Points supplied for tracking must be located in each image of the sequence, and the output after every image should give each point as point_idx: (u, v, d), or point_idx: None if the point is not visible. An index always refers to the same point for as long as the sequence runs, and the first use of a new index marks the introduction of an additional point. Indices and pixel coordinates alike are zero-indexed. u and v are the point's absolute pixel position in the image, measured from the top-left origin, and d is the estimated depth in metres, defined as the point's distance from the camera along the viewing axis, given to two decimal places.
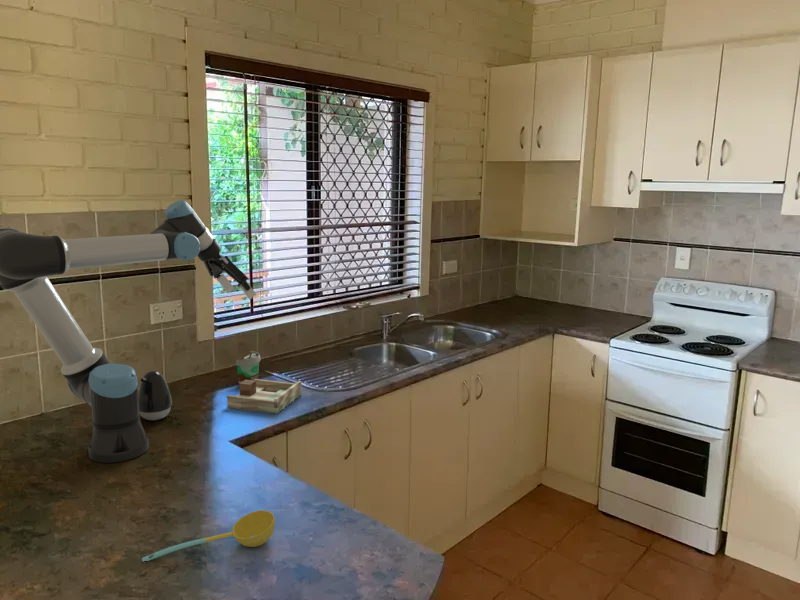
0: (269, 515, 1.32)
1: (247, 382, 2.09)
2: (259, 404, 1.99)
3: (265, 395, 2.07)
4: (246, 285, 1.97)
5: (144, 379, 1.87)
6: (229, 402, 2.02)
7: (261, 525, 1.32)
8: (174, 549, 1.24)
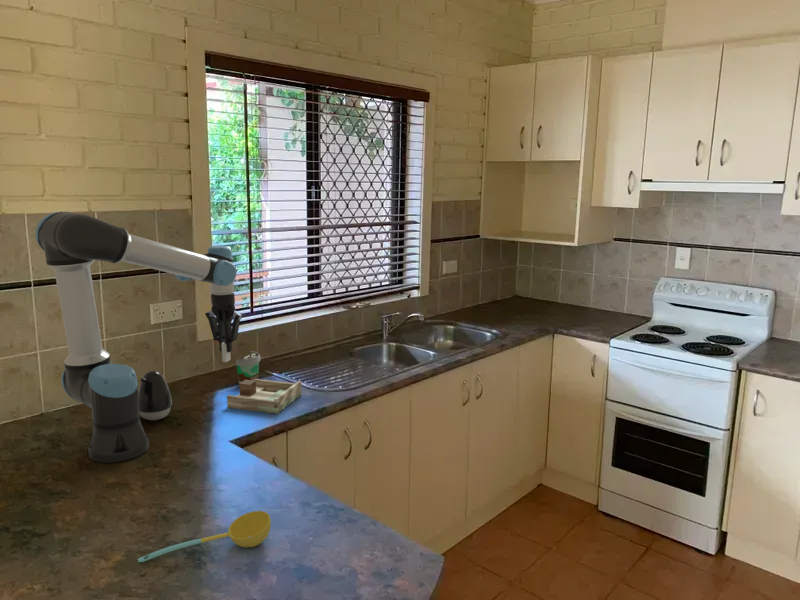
0: (265, 515, 1.31)
1: (247, 382, 2.09)
2: (259, 404, 1.99)
3: (265, 395, 2.07)
4: (230, 346, 2.08)
5: (144, 379, 1.87)
6: (229, 402, 2.02)
7: (257, 526, 1.32)
8: (170, 550, 1.24)
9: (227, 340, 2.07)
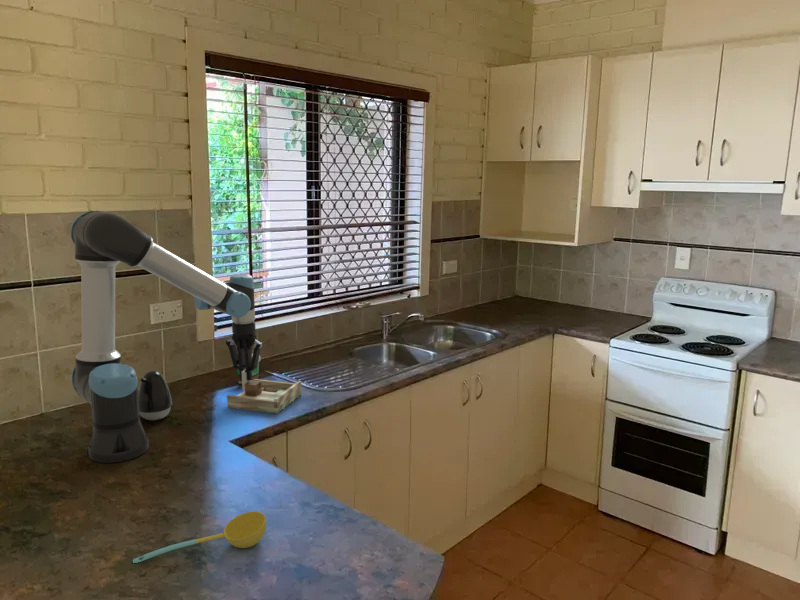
0: (260, 516, 1.31)
1: (252, 383, 2.08)
2: (259, 404, 1.99)
3: (265, 395, 2.07)
4: (250, 374, 2.08)
5: (144, 379, 1.87)
6: (229, 402, 2.02)
7: (253, 526, 1.32)
8: (165, 550, 1.23)
9: (247, 369, 2.07)
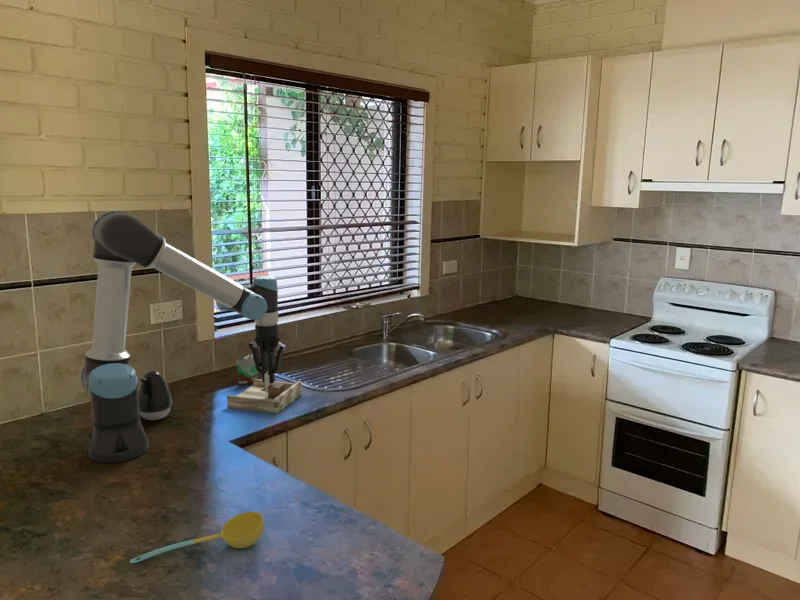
0: (257, 516, 1.31)
1: (275, 385, 2.06)
2: (259, 404, 1.99)
3: (265, 395, 2.07)
4: (273, 377, 2.06)
5: (144, 379, 1.87)
6: (229, 402, 2.02)
7: (250, 526, 1.32)
8: (162, 551, 1.23)
9: (270, 371, 2.04)
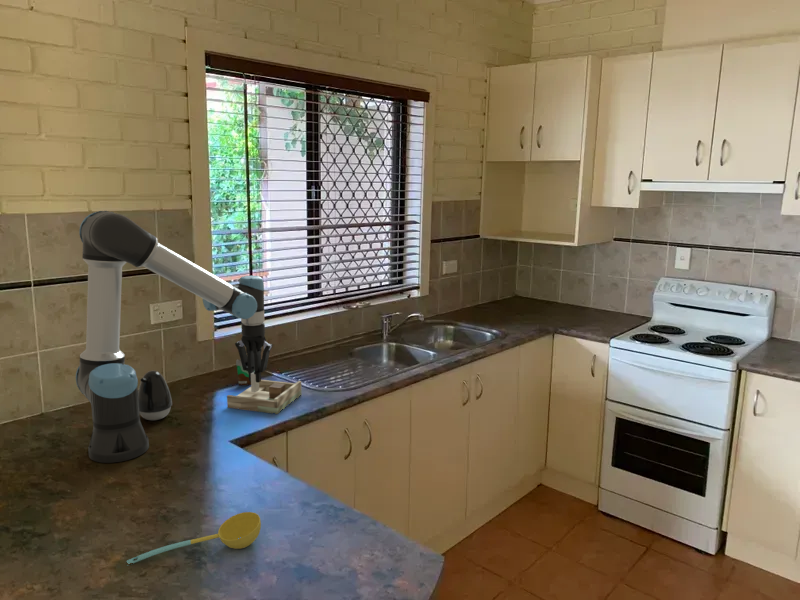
0: (255, 516, 1.31)
1: (276, 385, 2.06)
2: (259, 404, 1.99)
3: (265, 395, 2.07)
4: (259, 376, 2.07)
5: (144, 379, 1.87)
6: (229, 402, 2.02)
7: (247, 527, 1.32)
8: (159, 551, 1.23)
9: (256, 370, 2.05)
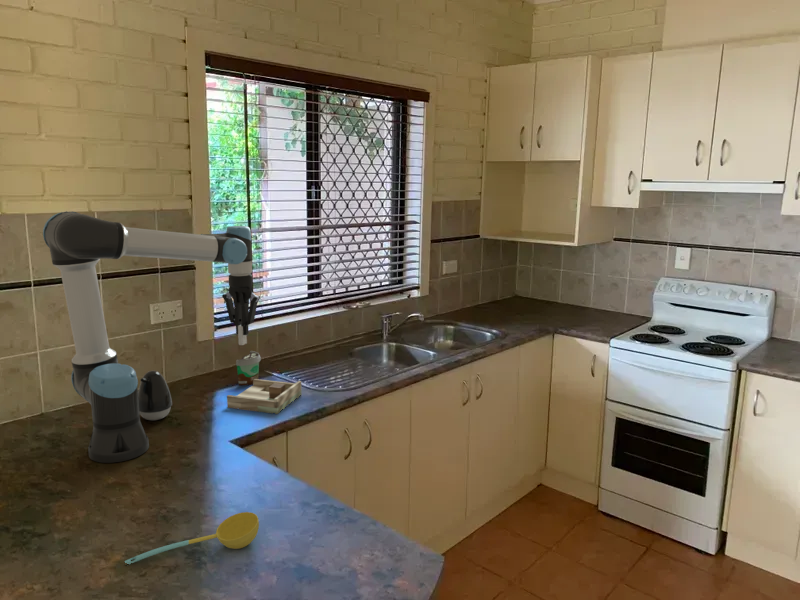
0: (253, 516, 1.31)
1: (276, 385, 2.06)
2: (259, 404, 1.99)
3: (265, 395, 2.07)
4: (247, 329, 2.04)
5: (144, 379, 1.87)
6: (229, 402, 2.02)
7: (245, 527, 1.32)
8: (157, 552, 1.23)
9: (244, 323, 2.03)
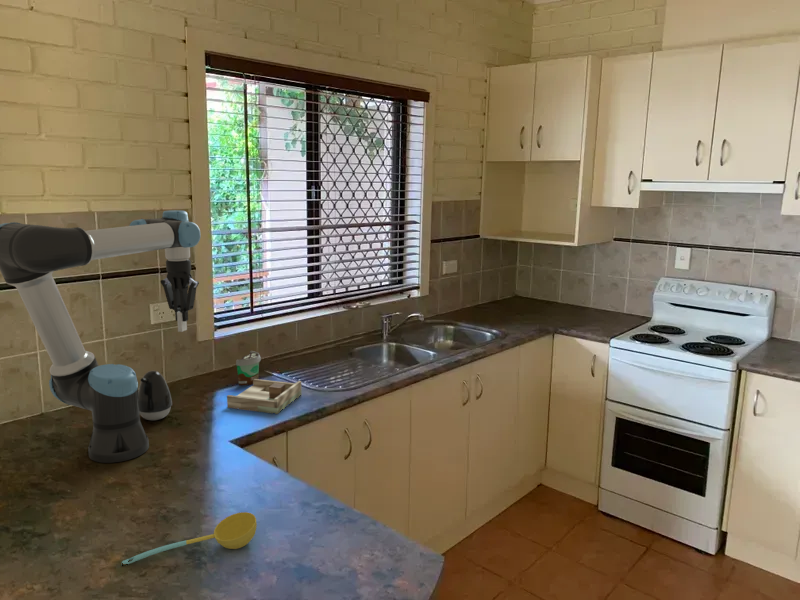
0: (250, 516, 1.31)
1: (276, 385, 2.06)
2: (259, 404, 1.99)
3: (265, 395, 2.07)
4: (186, 315, 2.01)
5: (144, 379, 1.87)
6: (229, 402, 2.02)
7: (243, 527, 1.32)
8: (154, 552, 1.23)
9: (183, 309, 1.99)
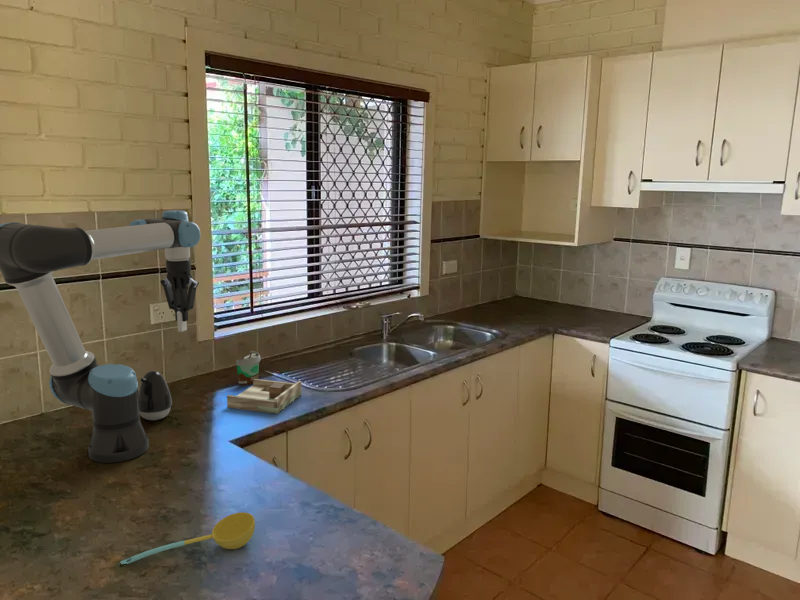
0: (249, 517, 1.31)
1: (276, 385, 2.06)
2: (259, 404, 1.99)
3: (265, 395, 2.07)
4: (186, 315, 2.01)
5: (144, 379, 1.87)
6: (229, 402, 2.02)
7: (241, 527, 1.31)
8: (153, 552, 1.23)
9: (183, 309, 1.99)
